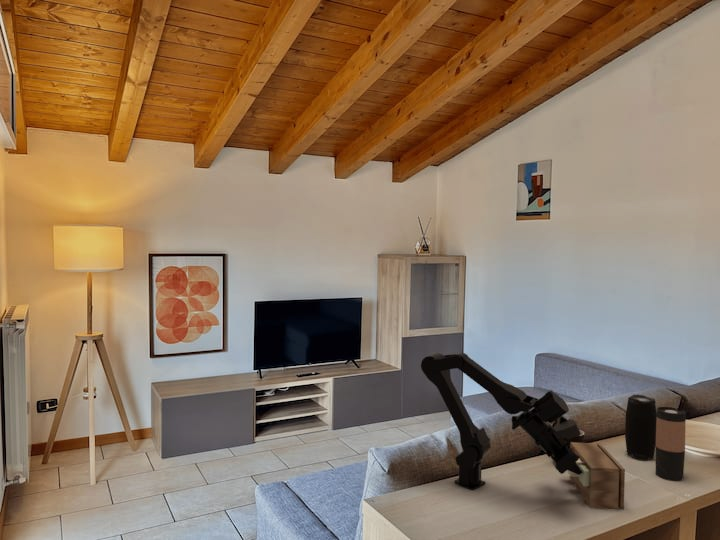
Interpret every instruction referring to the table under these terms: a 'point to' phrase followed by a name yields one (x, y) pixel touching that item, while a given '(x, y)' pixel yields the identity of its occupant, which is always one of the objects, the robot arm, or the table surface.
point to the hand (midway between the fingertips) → (580, 473)
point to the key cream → (579, 462)
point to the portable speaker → (640, 427)
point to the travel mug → (670, 443)
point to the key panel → (600, 477)
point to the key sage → (584, 475)
